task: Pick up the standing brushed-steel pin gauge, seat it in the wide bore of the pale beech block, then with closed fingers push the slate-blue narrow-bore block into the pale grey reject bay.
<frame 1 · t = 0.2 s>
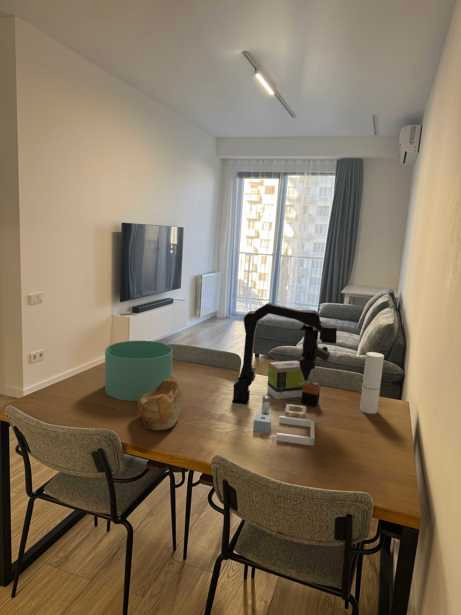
hand: (306, 377, 177), 14 cm above the table, fingers open, 9 cm apart
pin gauge: (265, 415, 171), on the table
container: (138, 388, 193), on the table
tea box: (285, 394, 196), on the table
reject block: (262, 429, 160), on the table
battery: (309, 404, 186), on the table
rough brown rock: (157, 420, 162), on the table
reject bay: (295, 433, 158), on the table
gauge block: (295, 418, 170), on the table
cylindrical container: (368, 410, 183), on the table
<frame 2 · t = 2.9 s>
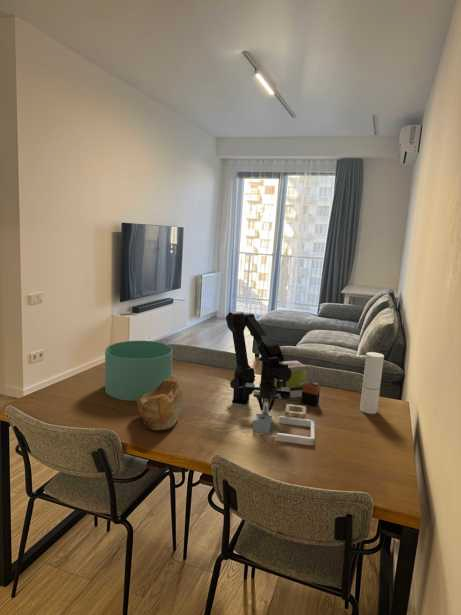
hand: (265, 410, 171), 2 cm above the table, fingers closed on pin gauge, 3 cm apart
pin gauge: (265, 415, 171), on the table, touching gripper
everything else where it was.
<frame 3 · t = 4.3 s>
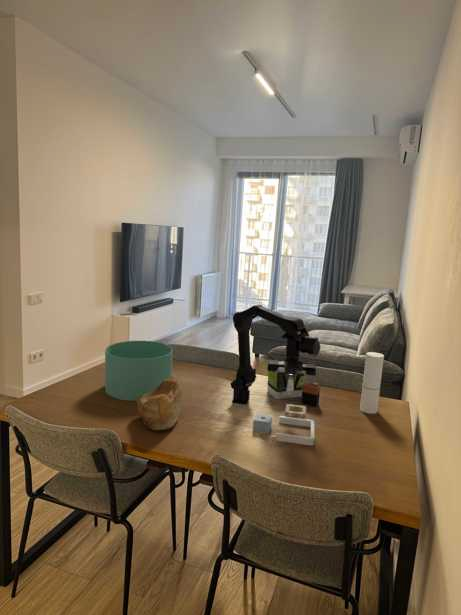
hand: (290, 388, 168), 12 cm above the table, fingers closed on pin gauge, 3 cm apart
pin gauge: (289, 393, 168), point 10 cm above the table, touching gripper
everything else where it was.
when the fingers open (5 cm above the table, at t = 6.1 s): pin gauge drops 2 cm, resting on gauge block.
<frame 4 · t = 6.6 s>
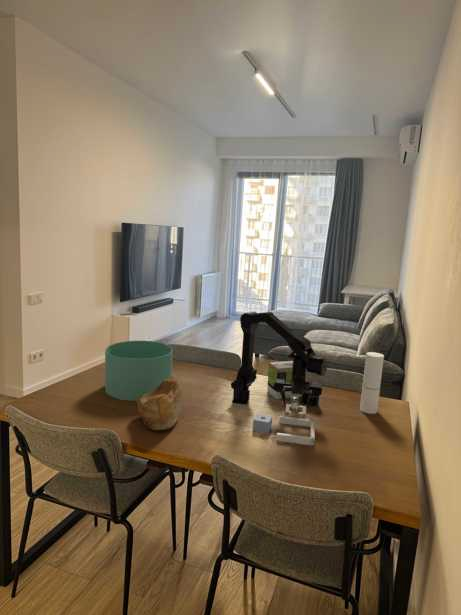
hand: (295, 407, 170), 5 cm above the table, fingers open, 9 cm apart
pin gauge: (295, 416, 170), point 1 cm above the table, tilted 6°, touching gauge block
everything else where it was.
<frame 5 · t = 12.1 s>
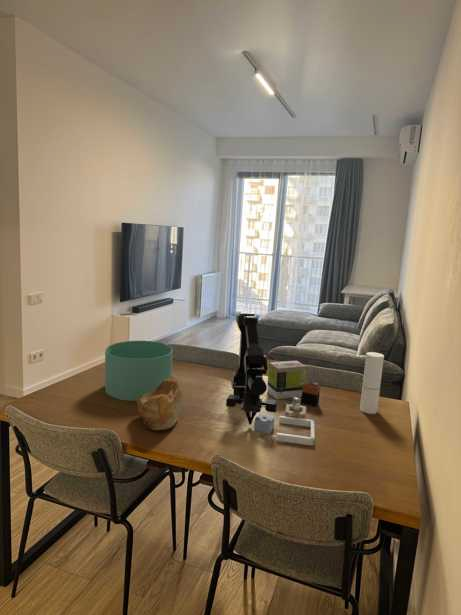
hand: (250, 424, 160), 1 cm above the table, fingers closed
pin gauge: (295, 416, 170), point 1 cm above the table, touching gauge block
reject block: (263, 428, 160), on the table, touching gripper
everything else where it was.
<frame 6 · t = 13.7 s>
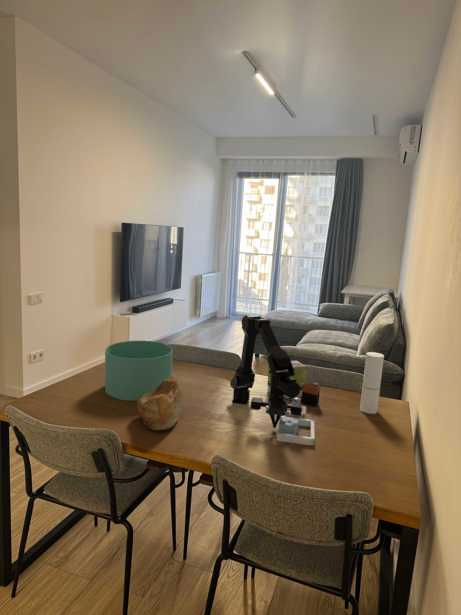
hand: (274, 427, 159), 1 cm above the table, fingers closed
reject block: (288, 432, 158), on the table, touching gripper
everything else where it was.
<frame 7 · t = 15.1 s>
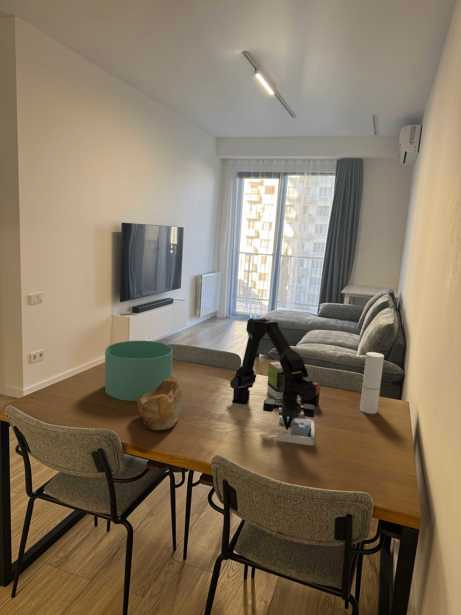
hand: (286, 429, 158), 1 cm above the table, fingers closed
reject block: (300, 434, 157), on the table, touching gripper, reject bay
everything else where it was.
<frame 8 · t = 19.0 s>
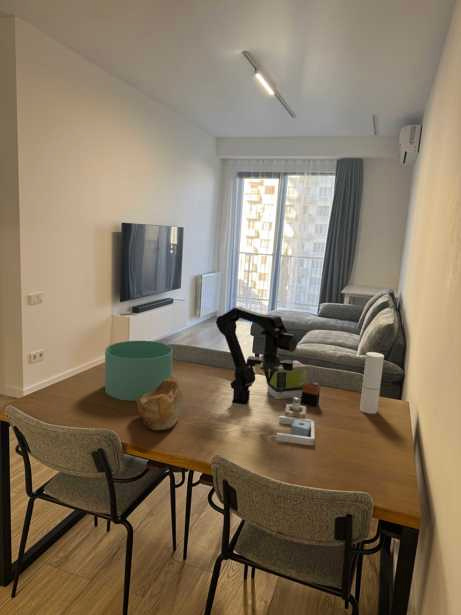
hand: (268, 383, 174), 12 cm above the table, fingers closed
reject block: (300, 435, 157), on the table
everything else where it was.
at the end: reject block inside the target area (1.7 cm from its centre), on the table; pin gauge 0.1 cm from the target spot, point 0.6 cm above the table; the gripper is holding nothing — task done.
